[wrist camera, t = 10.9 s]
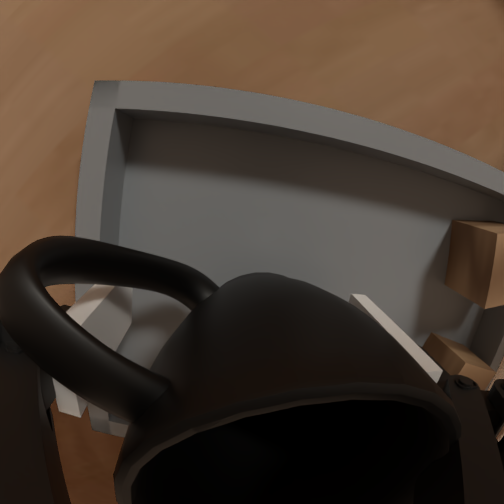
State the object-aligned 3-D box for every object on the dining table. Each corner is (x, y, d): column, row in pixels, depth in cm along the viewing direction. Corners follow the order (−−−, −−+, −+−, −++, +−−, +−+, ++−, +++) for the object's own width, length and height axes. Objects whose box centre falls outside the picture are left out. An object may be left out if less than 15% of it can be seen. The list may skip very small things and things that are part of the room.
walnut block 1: (452, 220, 16) (497, 233, 12) (493, 220, 16) (536, 233, 13) (444, 284, 17) (484, 309, 13) (485, 279, 17) (524, 299, 14)
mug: (198, 133, 12) (126, 46, 3) (376, 322, 15) (490, 455, 6) (75, 272, 13) (-63, 391, 4) (256, 420, 16) (279, 575, 7)
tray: (120, 97, 14) (94, 80, 11) (514, 190, 17) (548, 196, 13) (107, 395, 18) (92, 429, 15) (443, 405, 21) (464, 430, 18)
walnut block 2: (431, 332, 18) (465, 362, 14) (463, 345, 19) (496, 372, 15) (399, 382, 19) (426, 418, 15) (434, 390, 19) (461, 421, 15)
